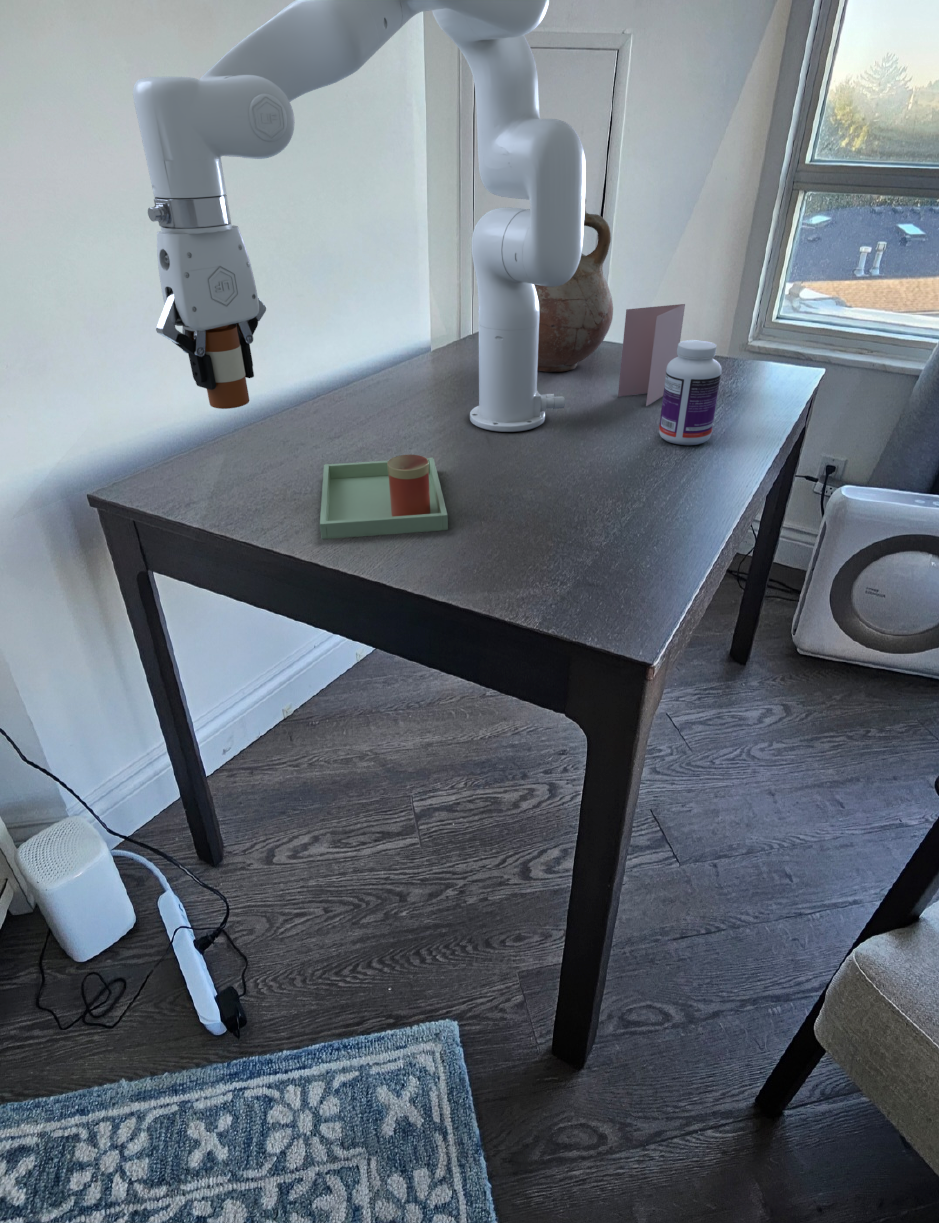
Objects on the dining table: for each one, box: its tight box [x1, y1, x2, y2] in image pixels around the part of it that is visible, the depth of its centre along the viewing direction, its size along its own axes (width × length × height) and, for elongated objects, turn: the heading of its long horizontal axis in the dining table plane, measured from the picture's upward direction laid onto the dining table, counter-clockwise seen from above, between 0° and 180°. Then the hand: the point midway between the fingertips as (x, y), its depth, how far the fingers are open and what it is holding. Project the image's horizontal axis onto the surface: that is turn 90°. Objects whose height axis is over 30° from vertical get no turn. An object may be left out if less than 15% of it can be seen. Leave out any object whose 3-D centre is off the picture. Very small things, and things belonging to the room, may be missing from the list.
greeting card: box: [617, 303, 686, 407], centre depth 132 cm, size 11×7×15 cm, turn 108°
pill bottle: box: [658, 339, 722, 446], centre depth 115 cm, size 8×8×14 cm
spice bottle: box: [205, 324, 250, 410], centre depth 91 cm, size 5×5×12 cm
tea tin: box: [387, 453, 430, 517], centre depth 95 cm, size 5×5×7 cm
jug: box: [534, 198, 614, 373], centre depth 145 cm, size 22×22×30 cm
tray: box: [319, 457, 449, 540], centre depth 99 cm, size 15×18×3 cm
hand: (225, 379), depth 92 cm, fingers closed on spice bottle, 4 cm apart
